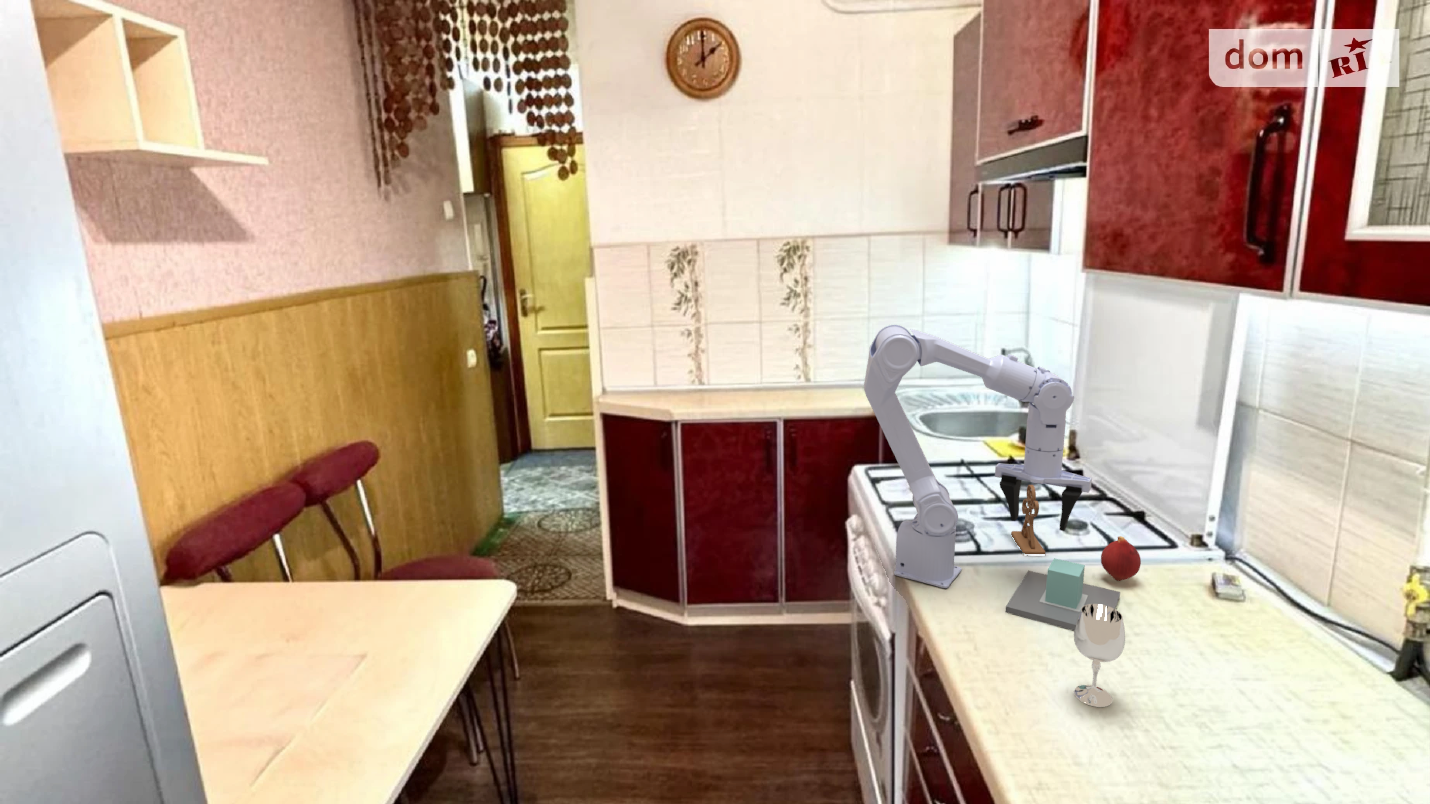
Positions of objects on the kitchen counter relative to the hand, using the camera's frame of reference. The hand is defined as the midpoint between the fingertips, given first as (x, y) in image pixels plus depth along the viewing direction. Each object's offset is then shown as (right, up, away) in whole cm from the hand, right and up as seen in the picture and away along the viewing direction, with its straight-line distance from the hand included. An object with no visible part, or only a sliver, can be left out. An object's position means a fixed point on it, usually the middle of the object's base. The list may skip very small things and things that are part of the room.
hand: (1038, 523), depth 124 cm
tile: (+1, -12, -6) cm, 14 cm away
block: (+1, -11, -7) cm, 13 cm away
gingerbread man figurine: (+4, -7, +14) cm, 16 cm away
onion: (+14, -10, 0) cm, 17 cm away
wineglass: (-5, -18, -28) cm, 34 cm away
